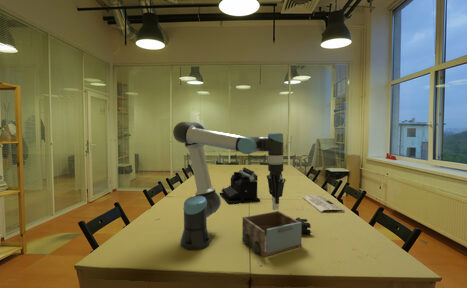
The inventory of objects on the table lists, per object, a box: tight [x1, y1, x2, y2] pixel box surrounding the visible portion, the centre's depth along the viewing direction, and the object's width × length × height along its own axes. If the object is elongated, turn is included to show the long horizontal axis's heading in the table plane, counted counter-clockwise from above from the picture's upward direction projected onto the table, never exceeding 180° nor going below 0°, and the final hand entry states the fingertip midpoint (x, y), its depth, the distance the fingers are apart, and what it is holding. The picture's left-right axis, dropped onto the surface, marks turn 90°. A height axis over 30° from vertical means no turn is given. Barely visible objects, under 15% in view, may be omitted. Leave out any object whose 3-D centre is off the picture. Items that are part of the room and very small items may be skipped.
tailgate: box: [266, 222, 302, 253], centre depth 110 cm, size 2×20×11 cm, turn 116°
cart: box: [241, 210, 302, 257], centre depth 120 cm, size 20×26×12 cm
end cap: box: [294, 217, 312, 236], centre depth 133 cm, size 10×7×7 cm
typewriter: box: [219, 166, 261, 206], centre depth 201 cm, size 31×27×25 cm
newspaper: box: [302, 195, 345, 213], centre depth 184 cm, size 37×19×3 cm, turn 4°
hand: (275, 209), depth 116 cm, fingers closed
